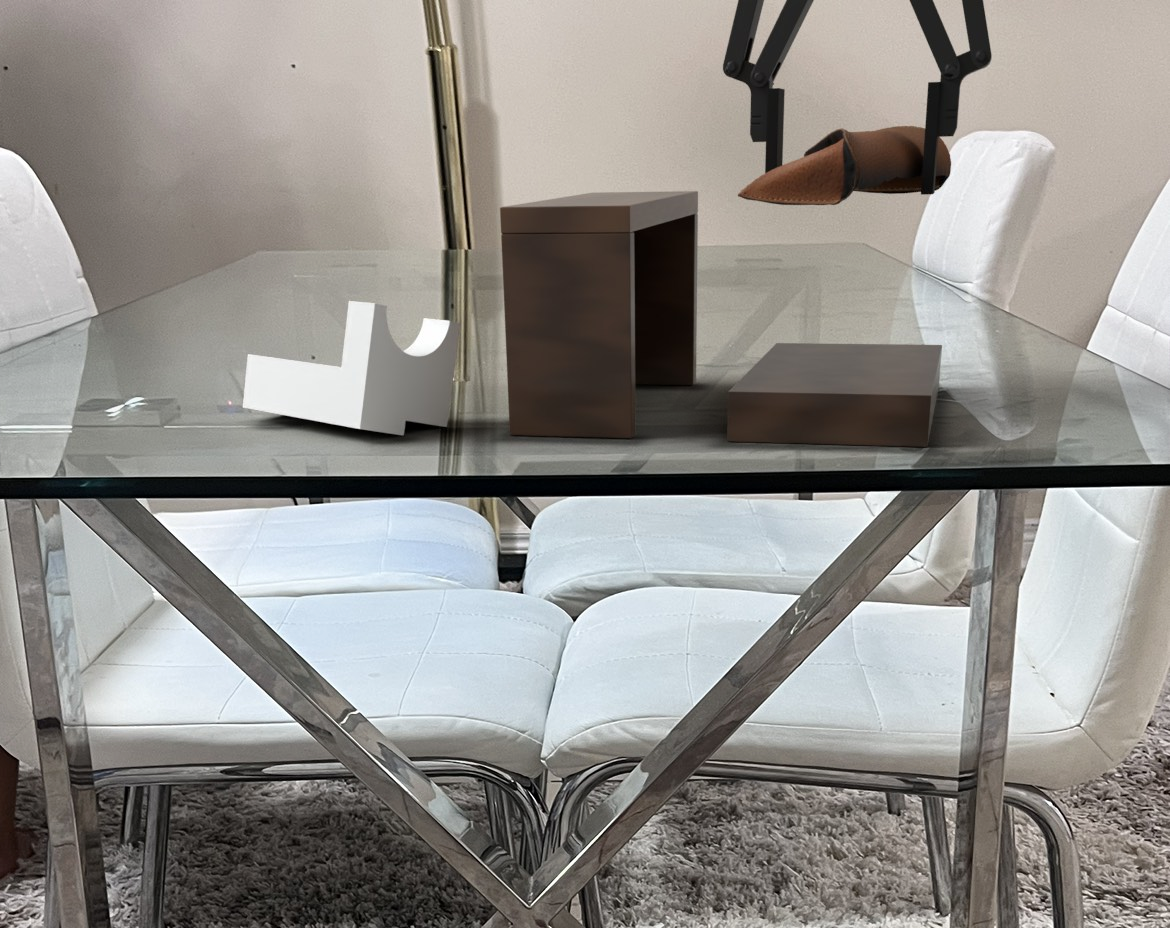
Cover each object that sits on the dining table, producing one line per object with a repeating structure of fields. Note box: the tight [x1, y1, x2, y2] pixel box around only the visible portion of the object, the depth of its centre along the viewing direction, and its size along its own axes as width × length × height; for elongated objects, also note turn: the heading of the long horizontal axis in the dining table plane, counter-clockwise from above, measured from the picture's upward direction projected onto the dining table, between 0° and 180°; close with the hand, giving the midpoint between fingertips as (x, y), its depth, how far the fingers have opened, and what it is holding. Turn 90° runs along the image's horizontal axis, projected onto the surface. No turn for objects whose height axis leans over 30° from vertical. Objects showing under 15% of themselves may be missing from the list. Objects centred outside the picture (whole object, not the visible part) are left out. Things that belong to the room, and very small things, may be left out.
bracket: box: [242, 300, 462, 436], centre depth 93 cm, size 13×7×8 cm, turn 46°
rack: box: [499, 190, 943, 448], centre depth 93 cm, size 26×22×14 cm
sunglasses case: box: [737, 125, 952, 206], centre depth 92 cm, size 18×7×7 cm, turn 149°
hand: (849, 195), depth 93 cm, fingers closed on sunglasses case, 9 cm apart
